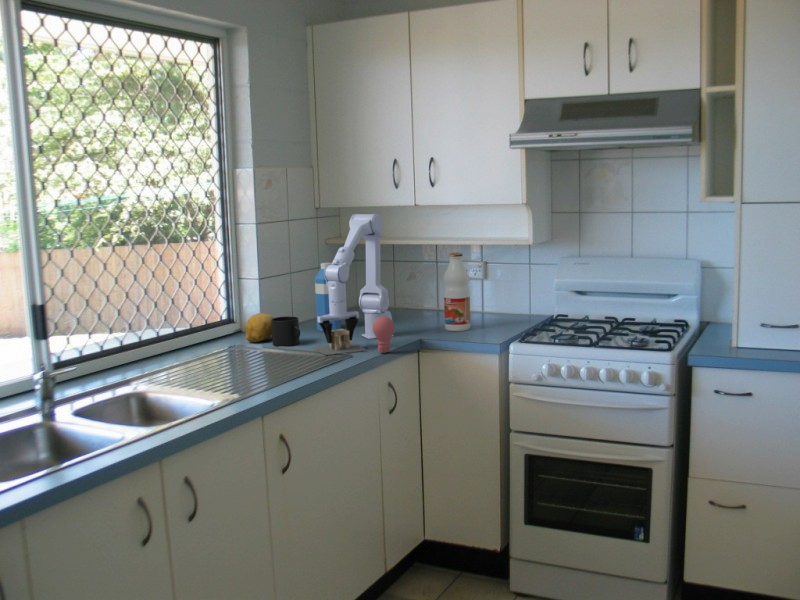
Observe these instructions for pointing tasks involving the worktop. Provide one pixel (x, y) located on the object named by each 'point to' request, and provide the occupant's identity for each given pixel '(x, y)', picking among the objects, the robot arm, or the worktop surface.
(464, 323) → the fruit juice
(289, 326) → the mug
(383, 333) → the light bulb
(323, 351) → the mat
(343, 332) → the stool
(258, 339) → the potato
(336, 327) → the water bottle
